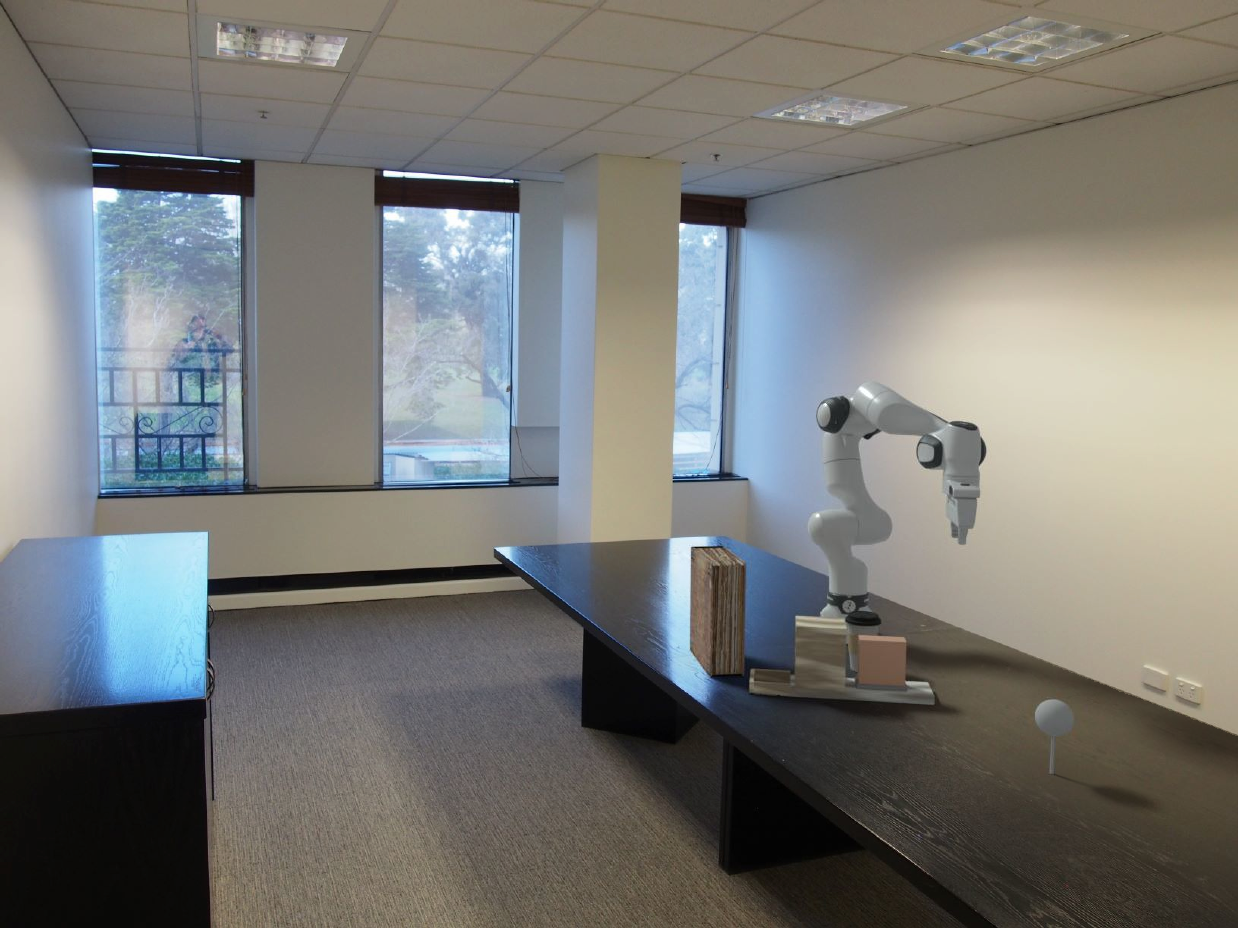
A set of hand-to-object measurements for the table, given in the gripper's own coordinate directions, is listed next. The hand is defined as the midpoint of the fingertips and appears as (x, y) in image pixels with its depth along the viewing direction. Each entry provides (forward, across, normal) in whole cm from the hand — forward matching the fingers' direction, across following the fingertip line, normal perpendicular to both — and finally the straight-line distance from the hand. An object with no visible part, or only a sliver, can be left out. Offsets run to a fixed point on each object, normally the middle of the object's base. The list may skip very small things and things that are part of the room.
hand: (958, 540), depth 249 cm
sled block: (+35, +12, -19) cm, 42 cm away
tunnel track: (+37, +12, -29) cm, 48 cm away
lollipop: (+37, +55, +10) cm, 67 cm away
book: (+37, -7, -61) cm, 72 cm away
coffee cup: (+37, -8, -22) cm, 44 cm away
